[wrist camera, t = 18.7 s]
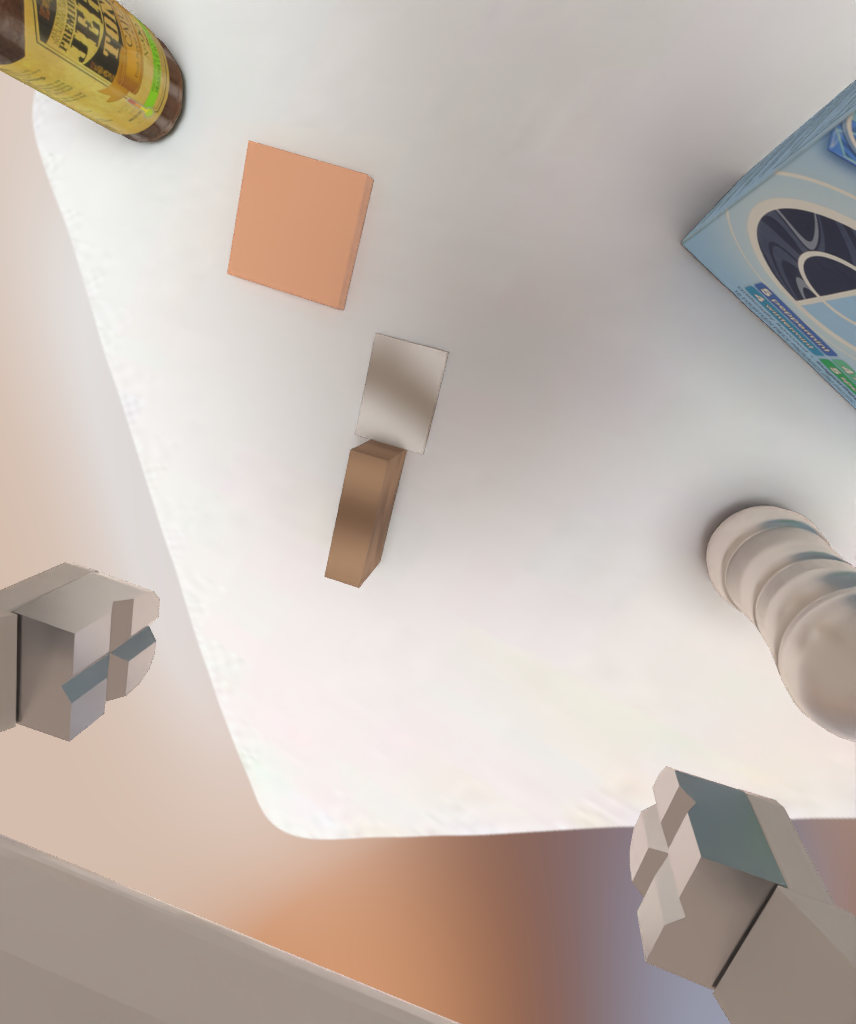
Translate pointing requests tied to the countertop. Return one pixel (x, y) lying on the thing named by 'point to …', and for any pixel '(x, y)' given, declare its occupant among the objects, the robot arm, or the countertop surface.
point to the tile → (298, 224)
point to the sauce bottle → (93, 63)
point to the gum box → (796, 241)
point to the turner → (383, 450)
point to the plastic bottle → (794, 606)
